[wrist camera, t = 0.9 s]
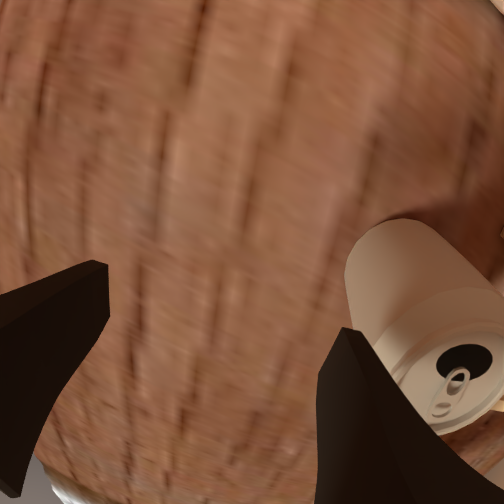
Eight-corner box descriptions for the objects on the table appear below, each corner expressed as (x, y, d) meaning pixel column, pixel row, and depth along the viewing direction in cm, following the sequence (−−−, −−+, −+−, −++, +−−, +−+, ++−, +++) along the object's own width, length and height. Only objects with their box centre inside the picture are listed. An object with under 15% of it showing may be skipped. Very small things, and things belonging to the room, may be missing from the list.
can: (459, 234, 19) (560, 329, 8) (417, 324, 22) (466, 451, 11) (364, 199, 19) (428, 286, 8) (327, 300, 22) (333, 441, 11)
